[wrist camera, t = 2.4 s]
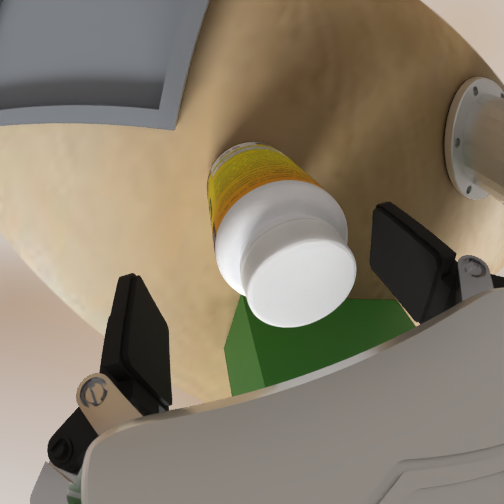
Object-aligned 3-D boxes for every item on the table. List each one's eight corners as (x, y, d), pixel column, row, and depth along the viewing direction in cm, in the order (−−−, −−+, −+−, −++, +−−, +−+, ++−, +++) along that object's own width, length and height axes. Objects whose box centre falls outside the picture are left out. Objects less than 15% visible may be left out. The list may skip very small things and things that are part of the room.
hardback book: (396, 299, 28) (502, 479, 8) (365, 344, 31) (444, 507, 12) (241, 292, 22) (330, 607, 3) (224, 348, 26) (277, 589, 7)
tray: (232, -56, 8) (237, -70, 6) (176, 125, 15) (174, 130, 13) (14, -35, 3) (2, -41, 2) (-25, 124, 10) (-41, 131, 8)
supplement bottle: (188, 170, 16) (184, 275, 8) (268, 124, 16) (355, 178, 7) (234, 235, 19) (268, 359, 11) (304, 195, 19) (387, 295, 10)
